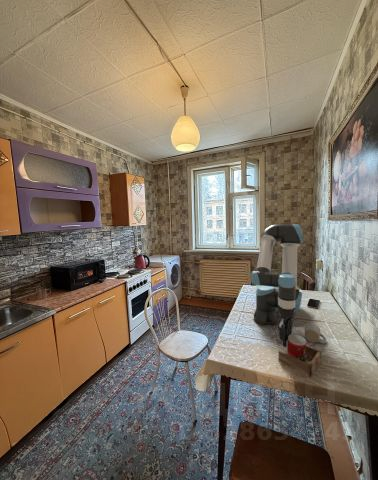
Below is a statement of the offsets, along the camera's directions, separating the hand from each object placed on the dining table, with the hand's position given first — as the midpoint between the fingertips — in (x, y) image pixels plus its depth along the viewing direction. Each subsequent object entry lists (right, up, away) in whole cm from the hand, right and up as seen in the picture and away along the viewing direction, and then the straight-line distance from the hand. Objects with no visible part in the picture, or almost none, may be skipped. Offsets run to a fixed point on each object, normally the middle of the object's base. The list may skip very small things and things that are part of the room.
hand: (285, 351), depth 102 cm
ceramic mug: (+22, 0, +12) cm, 25 cm away
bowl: (+19, +5, +52) cm, 55 cm away
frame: (+5, -2, -5) cm, 7 cm away
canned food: (+3, -2, -4) cm, 6 cm away
